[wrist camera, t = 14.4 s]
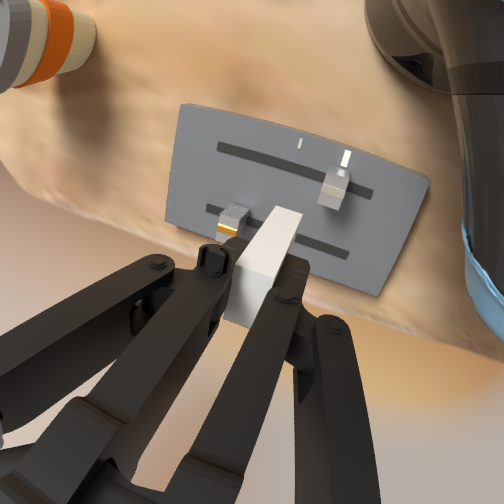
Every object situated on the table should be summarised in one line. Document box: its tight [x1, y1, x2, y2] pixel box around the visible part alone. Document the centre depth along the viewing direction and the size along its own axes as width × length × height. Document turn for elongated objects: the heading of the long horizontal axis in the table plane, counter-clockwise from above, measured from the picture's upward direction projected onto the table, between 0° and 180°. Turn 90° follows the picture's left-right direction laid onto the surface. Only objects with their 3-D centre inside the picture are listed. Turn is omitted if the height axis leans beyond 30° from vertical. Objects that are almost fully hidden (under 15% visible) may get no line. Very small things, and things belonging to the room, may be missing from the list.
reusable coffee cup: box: [0, 0, 96, 94], centre depth 25 cm, size 13×13×15 cm
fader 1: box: [215, 203, 249, 243], centre depth 32 cm, size 2×3×3 cm, turn 166°
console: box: [165, 104, 430, 296], centre depth 33 cm, size 26×14×2 cm, turn 76°
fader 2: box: [317, 164, 350, 211], centre depth 28 cm, size 2×3×3 cm, turn 166°
